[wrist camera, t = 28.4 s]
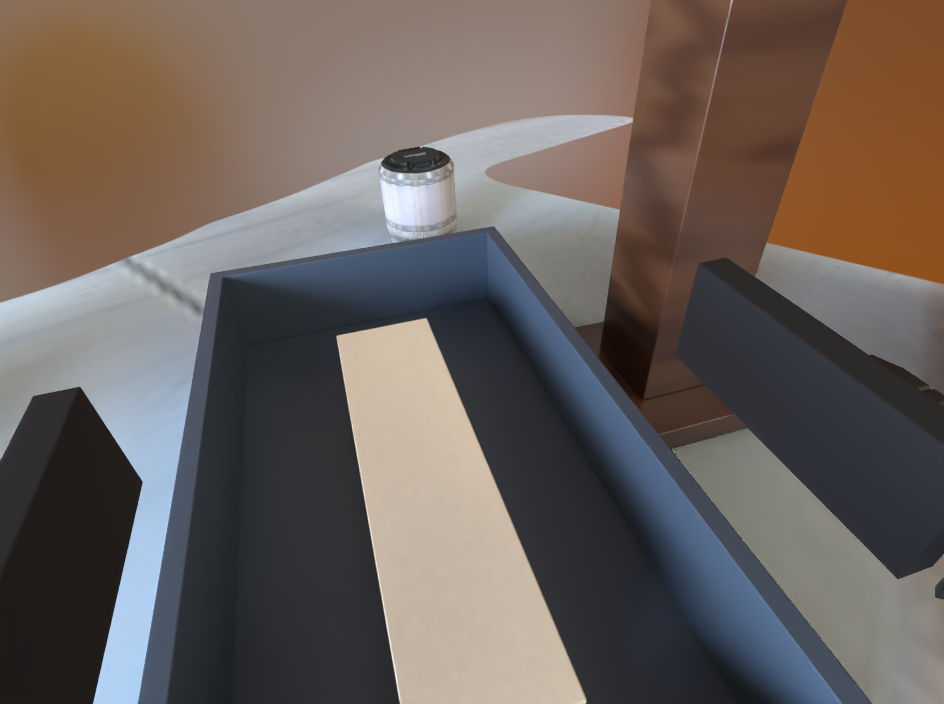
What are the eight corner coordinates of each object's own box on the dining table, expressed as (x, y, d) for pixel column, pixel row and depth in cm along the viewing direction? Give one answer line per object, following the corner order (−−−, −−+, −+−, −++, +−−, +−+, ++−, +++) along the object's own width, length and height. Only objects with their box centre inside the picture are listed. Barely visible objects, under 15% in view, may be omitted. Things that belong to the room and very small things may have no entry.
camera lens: (380, 235, 50) (367, 150, 45) (442, 221, 52) (436, 138, 47) (402, 264, 46) (390, 172, 41) (469, 247, 48) (465, 158, 43)
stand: (533, 334, 37) (569, -421, 18) (660, 307, 39) (816, -395, 20) (640, 493, 26) (1017, -953, 7) (807, 444, 29) (1447, -778, 9)
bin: (245, 365, 36) (209, 272, 31) (494, 314, 39) (494, 225, 35) (202, 1236, 12) (26, 1358, 7) (850, 899, 15) (988, 847, 11)
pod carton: (349, 392, 30) (336, 335, 28) (432, 374, 31) (426, 317, 29) (425, 808, 16) (410, 767, 13) (574, 749, 17) (587, 700, 14)
